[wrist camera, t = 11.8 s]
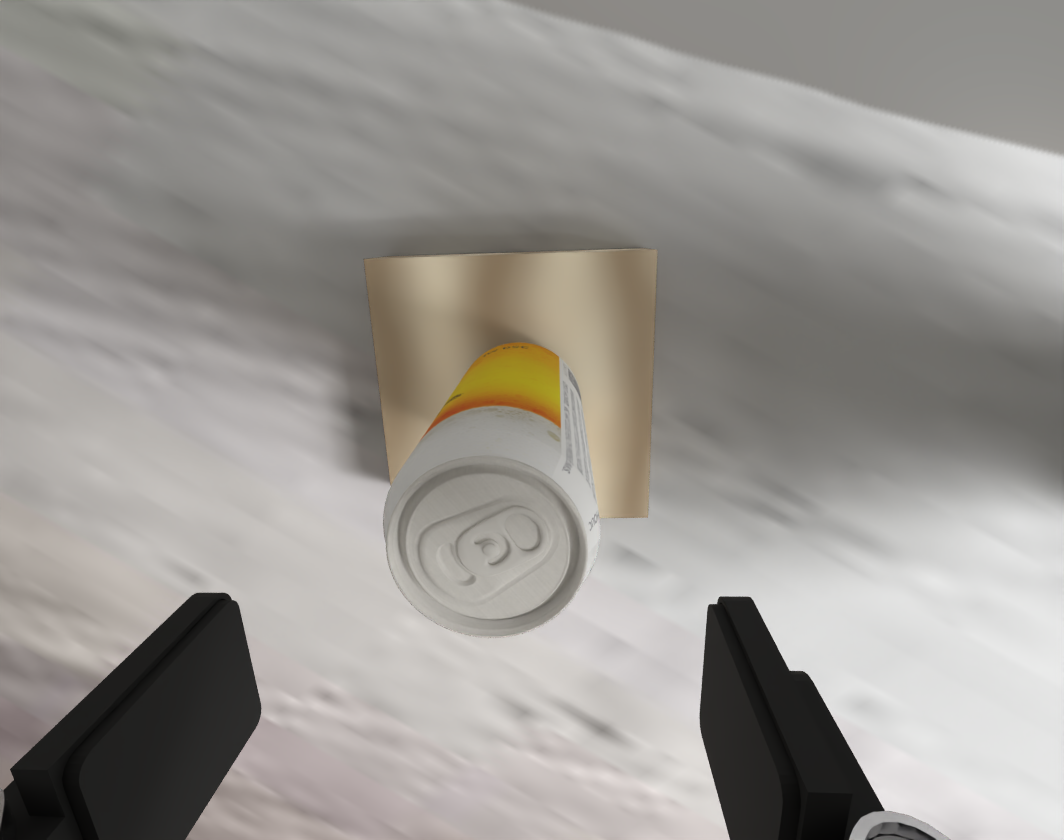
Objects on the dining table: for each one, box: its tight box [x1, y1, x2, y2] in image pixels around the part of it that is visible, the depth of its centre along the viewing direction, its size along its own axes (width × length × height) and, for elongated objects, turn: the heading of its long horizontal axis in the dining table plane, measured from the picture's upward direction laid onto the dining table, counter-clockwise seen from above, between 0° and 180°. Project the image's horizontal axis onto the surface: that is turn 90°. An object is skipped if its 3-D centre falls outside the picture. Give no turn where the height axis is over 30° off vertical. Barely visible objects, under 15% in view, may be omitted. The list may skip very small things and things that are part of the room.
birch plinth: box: [364, 248, 657, 518], centre depth 31 cm, size 14×14×4 cm
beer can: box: [383, 342, 600, 638], centre depth 22 cm, size 6×6×15 cm
